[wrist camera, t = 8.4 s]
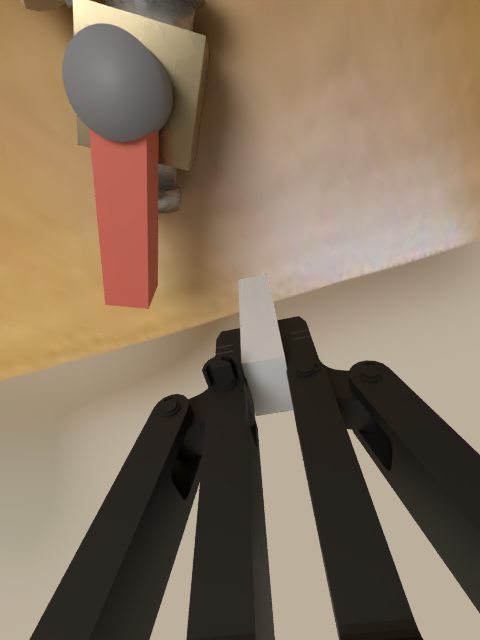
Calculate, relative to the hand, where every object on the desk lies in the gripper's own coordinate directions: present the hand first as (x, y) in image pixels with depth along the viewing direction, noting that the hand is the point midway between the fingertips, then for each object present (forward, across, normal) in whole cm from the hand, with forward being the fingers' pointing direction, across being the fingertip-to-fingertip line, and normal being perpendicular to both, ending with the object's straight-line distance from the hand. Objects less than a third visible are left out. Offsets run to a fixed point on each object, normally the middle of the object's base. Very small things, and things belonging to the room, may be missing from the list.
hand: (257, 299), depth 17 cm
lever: (+7, +6, -6) cm, 11 cm away
